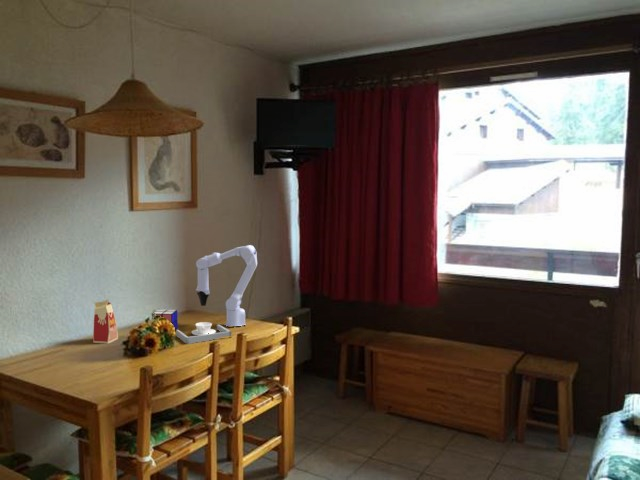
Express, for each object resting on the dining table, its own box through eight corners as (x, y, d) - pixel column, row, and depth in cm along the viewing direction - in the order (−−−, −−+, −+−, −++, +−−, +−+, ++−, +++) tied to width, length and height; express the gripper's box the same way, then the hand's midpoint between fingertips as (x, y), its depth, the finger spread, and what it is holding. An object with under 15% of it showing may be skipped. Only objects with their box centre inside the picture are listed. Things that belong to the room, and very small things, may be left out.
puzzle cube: (172, 333, 270) (171, 314, 269) (152, 333, 270) (151, 313, 269) (177, 328, 280) (177, 309, 279) (158, 328, 280) (158, 309, 279)
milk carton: (118, 338, 260) (117, 297, 258) (109, 343, 251) (107, 301, 249) (100, 337, 261) (99, 296, 259) (90, 342, 252) (89, 300, 250)
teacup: (193, 338, 262) (193, 327, 261) (189, 332, 273) (189, 322, 272) (218, 336, 266) (217, 325, 266) (213, 330, 277) (213, 320, 277)
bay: (219, 330, 277) (219, 324, 277) (231, 337, 264) (231, 331, 263) (176, 335, 266) (176, 329, 265) (186, 344, 252) (186, 337, 252)
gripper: (191, 278, 290) (191, 303, 291) (200, 283, 278) (200, 308, 279) (203, 277, 294) (204, 302, 295) (213, 281, 281) (213, 307, 283)
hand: (203, 305), depth 287 cm, fingers closed
